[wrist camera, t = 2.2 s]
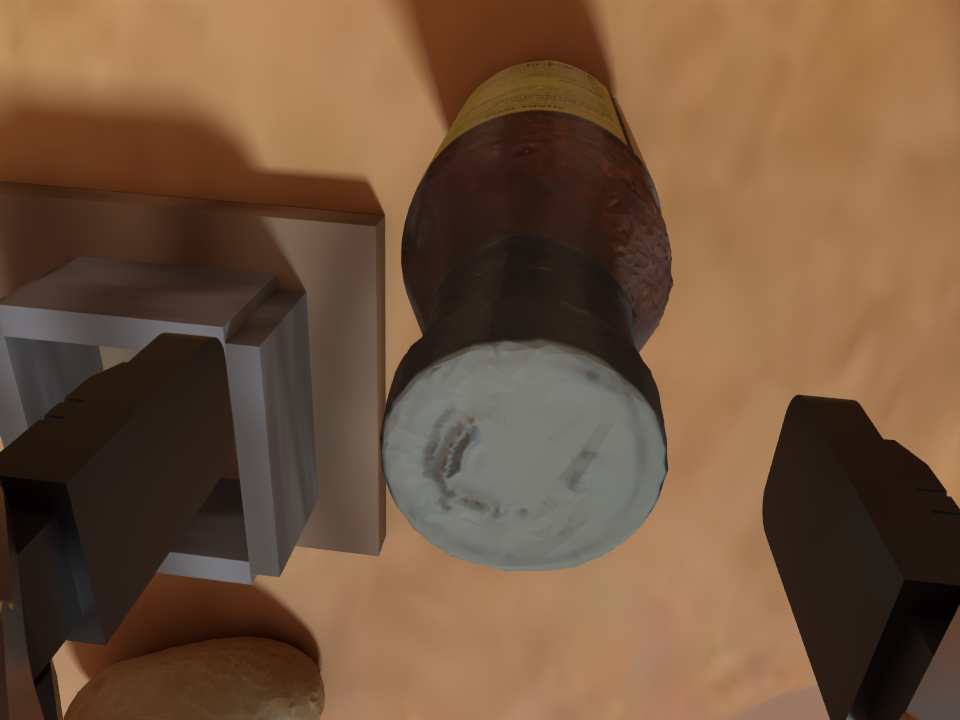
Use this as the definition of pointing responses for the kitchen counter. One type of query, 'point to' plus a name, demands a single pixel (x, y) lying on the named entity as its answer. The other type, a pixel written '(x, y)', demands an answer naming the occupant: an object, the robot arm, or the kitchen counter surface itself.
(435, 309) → the sauce bottle
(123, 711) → the bread roll
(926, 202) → the kitchen counter surface
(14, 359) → the grey open box
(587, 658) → the kitchen counter surface
